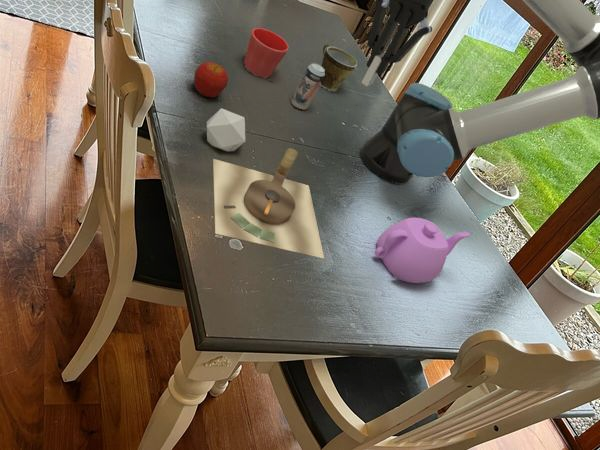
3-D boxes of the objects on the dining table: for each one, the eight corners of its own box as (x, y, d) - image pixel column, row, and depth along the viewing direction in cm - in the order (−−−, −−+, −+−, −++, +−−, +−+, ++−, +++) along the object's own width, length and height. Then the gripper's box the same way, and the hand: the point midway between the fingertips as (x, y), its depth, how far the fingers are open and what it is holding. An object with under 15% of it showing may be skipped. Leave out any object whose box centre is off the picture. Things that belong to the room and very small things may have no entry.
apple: (217, 87, 143) (228, 60, 138) (223, 106, 138) (235, 78, 133) (187, 80, 139) (197, 52, 135) (192, 99, 134) (203, 70, 130)
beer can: (287, 103, 153) (307, 64, 146) (294, 98, 157) (313, 60, 150) (302, 113, 153) (323, 75, 146) (309, 107, 157) (328, 70, 149)
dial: (284, 234, 111) (299, 208, 107) (236, 211, 110) (250, 183, 105) (300, 185, 125) (314, 160, 121) (259, 164, 124) (272, 138, 120)
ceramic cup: (347, 96, 172) (363, 68, 167) (322, 94, 166) (338, 65, 160) (324, 70, 179) (339, 42, 173) (300, 68, 172) (314, 38, 166)
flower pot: (282, 77, 162) (296, 47, 157) (260, 84, 154) (274, 53, 148) (254, 56, 164) (267, 25, 159) (231, 62, 156) (244, 30, 150)
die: (220, 166, 121) (258, 138, 120) (193, 133, 118) (232, 103, 117) (219, 156, 129) (255, 129, 128) (194, 124, 126) (230, 97, 125)
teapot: (380, 288, 115) (412, 248, 108) (356, 238, 123) (384, 199, 116) (453, 290, 125) (486, 254, 118) (426, 245, 133) (456, 208, 126)
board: (306, 189, 128) (309, 185, 127) (321, 262, 112) (324, 257, 111) (211, 163, 120) (213, 158, 119) (213, 237, 104) (215, 232, 103)
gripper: (457, -6, 111) (398, 97, 125) (404, -40, 114) (351, 64, 128) (444, -3, 105) (383, 104, 120) (388, -40, 109) (335, 69, 123)
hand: (366, 83), depth 124 cm, fingers closed
